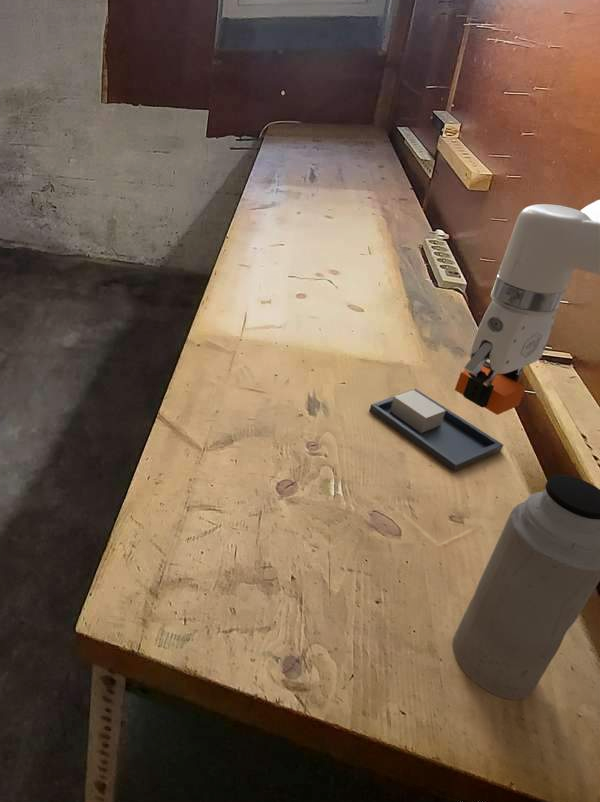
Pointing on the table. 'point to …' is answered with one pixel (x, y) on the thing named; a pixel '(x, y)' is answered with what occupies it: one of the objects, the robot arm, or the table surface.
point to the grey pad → (417, 411)
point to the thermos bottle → (532, 588)
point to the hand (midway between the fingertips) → (486, 395)
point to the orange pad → (497, 391)
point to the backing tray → (443, 437)
